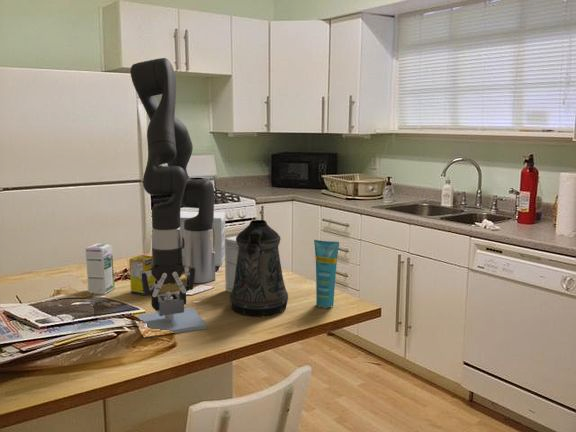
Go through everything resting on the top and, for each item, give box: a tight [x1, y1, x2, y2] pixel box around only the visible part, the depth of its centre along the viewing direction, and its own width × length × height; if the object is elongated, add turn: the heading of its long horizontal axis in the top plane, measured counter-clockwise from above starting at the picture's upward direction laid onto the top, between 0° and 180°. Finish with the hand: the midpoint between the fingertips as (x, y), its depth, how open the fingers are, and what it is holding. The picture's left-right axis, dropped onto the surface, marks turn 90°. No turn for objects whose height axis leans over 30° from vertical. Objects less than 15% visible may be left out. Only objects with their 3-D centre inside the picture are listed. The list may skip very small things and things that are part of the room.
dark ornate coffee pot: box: [229, 219, 289, 318], centre depth 151 cm, size 16×19×25 cm
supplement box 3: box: [224, 235, 239, 293], centre depth 168 cm, size 10×9×17 cm
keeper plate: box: [138, 291, 208, 334], centre depth 141 cm, size 16×14×8 cm
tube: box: [313, 239, 340, 308], centre depth 155 cm, size 7×5×19 cm, turn 73°
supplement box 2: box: [180, 210, 226, 267], centre depth 201 cm, size 17×13×18 cm
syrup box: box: [84, 243, 116, 295], centre depth 166 cm, size 6×6×14 cm
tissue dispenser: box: [156, 291, 185, 316], centre depth 140 cm, size 6×6×4 cm
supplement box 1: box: [128, 254, 156, 297], centre depth 166 cm, size 6×6×11 cm
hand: (169, 307), depth 141 cm, fingers closed on tissue dispenser, 6 cm apart
